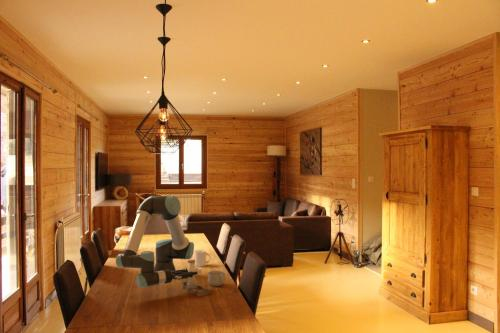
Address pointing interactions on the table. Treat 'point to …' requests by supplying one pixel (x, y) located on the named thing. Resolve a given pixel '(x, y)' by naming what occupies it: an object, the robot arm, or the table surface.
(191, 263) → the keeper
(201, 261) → the mug
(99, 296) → the table surface
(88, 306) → the table surface
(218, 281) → the teacup
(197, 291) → the track
